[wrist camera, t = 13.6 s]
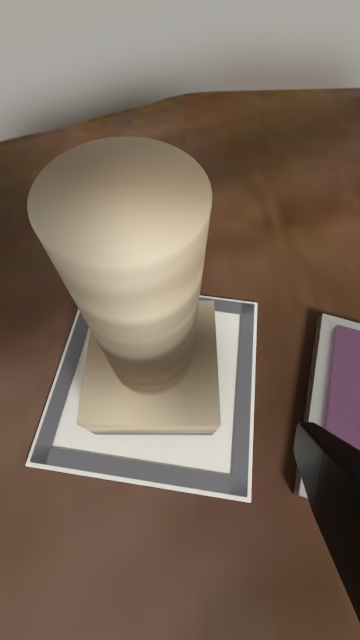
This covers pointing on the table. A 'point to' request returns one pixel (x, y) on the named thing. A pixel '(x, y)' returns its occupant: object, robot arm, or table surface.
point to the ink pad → (334, 383)
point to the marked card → (161, 450)
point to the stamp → (135, 282)
